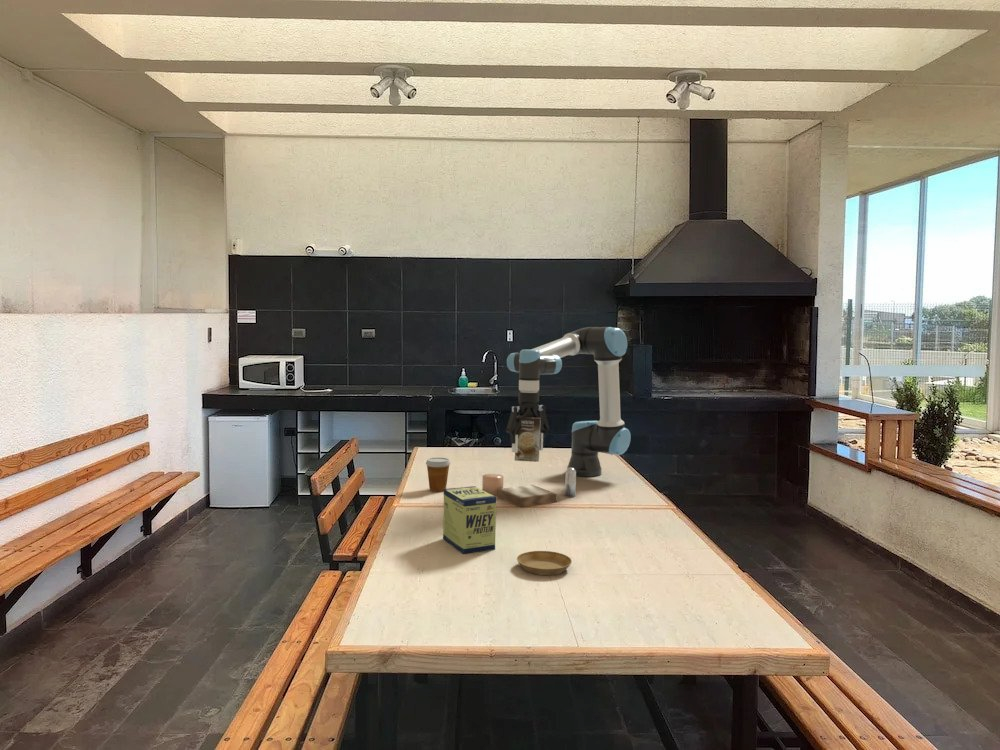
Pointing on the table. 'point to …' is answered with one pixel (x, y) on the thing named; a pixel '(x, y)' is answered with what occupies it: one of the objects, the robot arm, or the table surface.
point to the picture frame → (526, 495)
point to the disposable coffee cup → (437, 473)
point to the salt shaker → (570, 482)
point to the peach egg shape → (492, 483)
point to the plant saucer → (544, 562)
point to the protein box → (469, 519)
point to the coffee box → (528, 439)
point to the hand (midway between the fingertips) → (527, 450)
